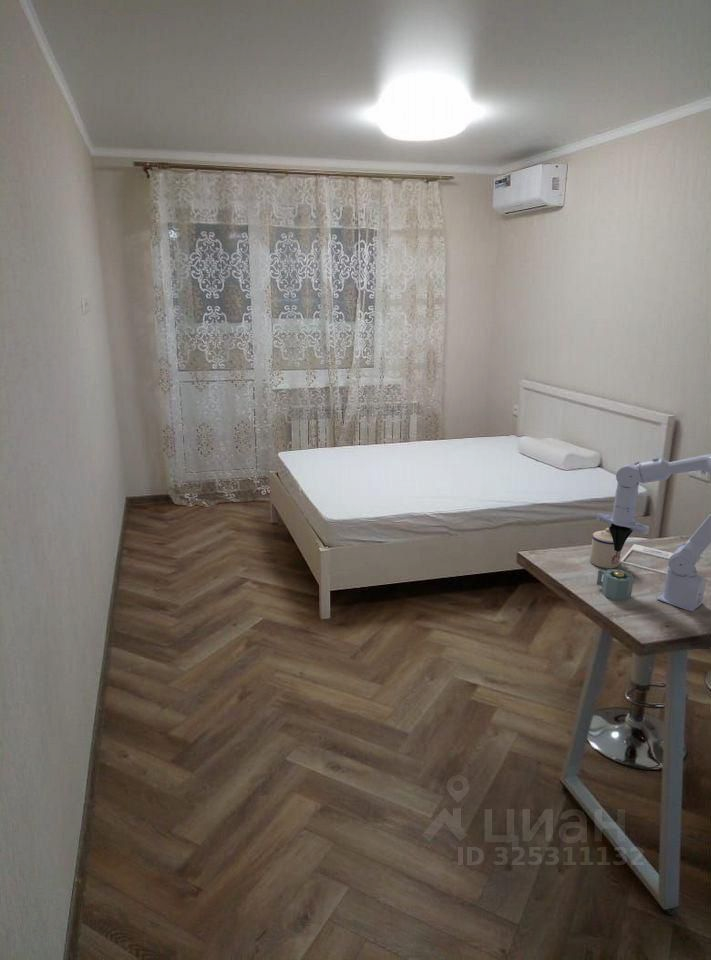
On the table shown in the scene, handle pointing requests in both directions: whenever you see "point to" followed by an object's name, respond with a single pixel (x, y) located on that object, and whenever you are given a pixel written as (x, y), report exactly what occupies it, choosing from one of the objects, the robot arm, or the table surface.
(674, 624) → the table surface
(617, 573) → the plunger
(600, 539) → the teacup with lid
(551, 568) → the table surface
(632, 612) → the table surface
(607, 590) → the tea press body
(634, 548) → the photo frame
